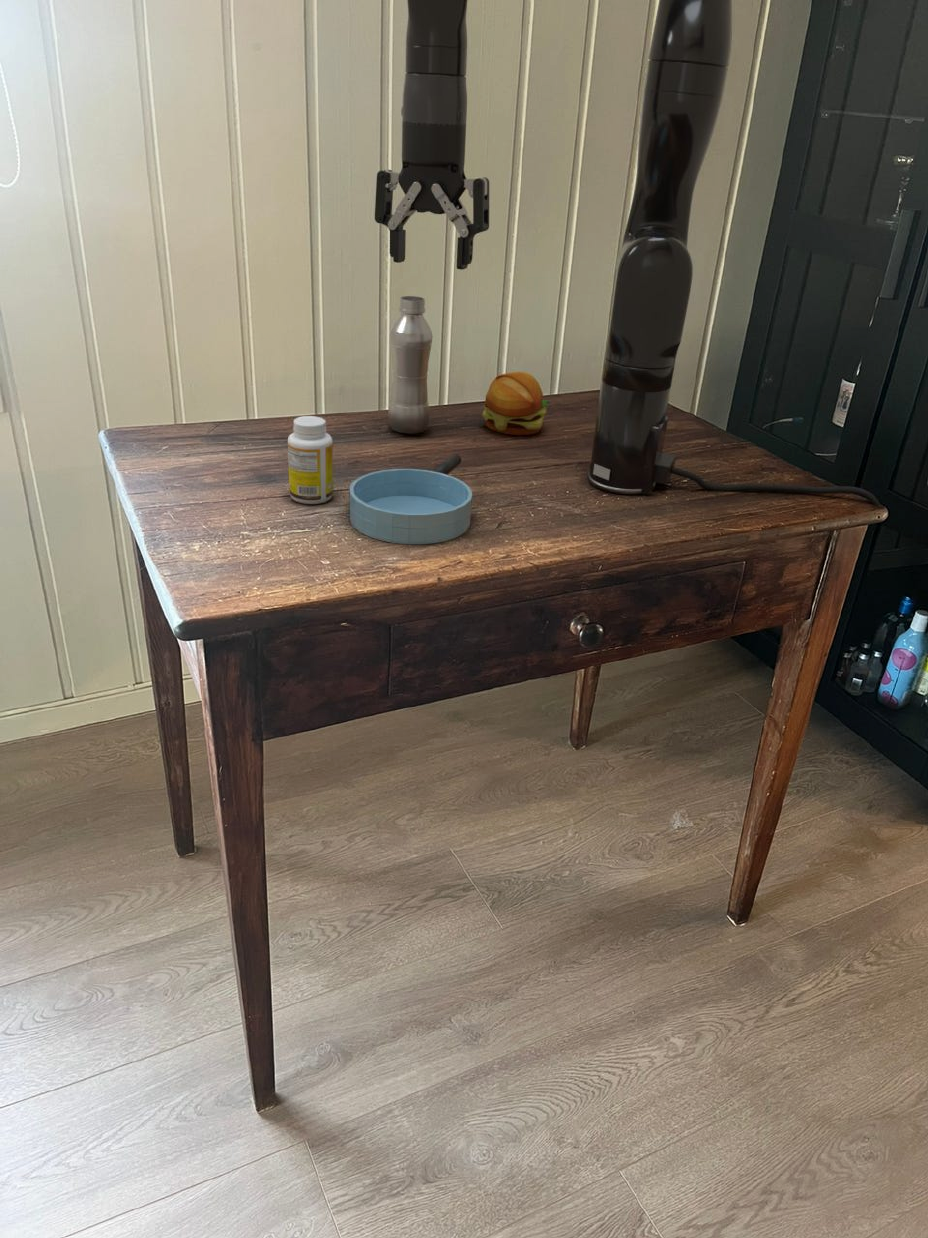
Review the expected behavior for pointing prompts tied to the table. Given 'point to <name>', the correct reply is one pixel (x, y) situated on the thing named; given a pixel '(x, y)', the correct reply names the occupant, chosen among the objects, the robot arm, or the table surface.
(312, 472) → the supplement bottle
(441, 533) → the pan
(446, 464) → the pan handle
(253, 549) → the table surface
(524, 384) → the cheeseburger
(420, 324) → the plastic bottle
